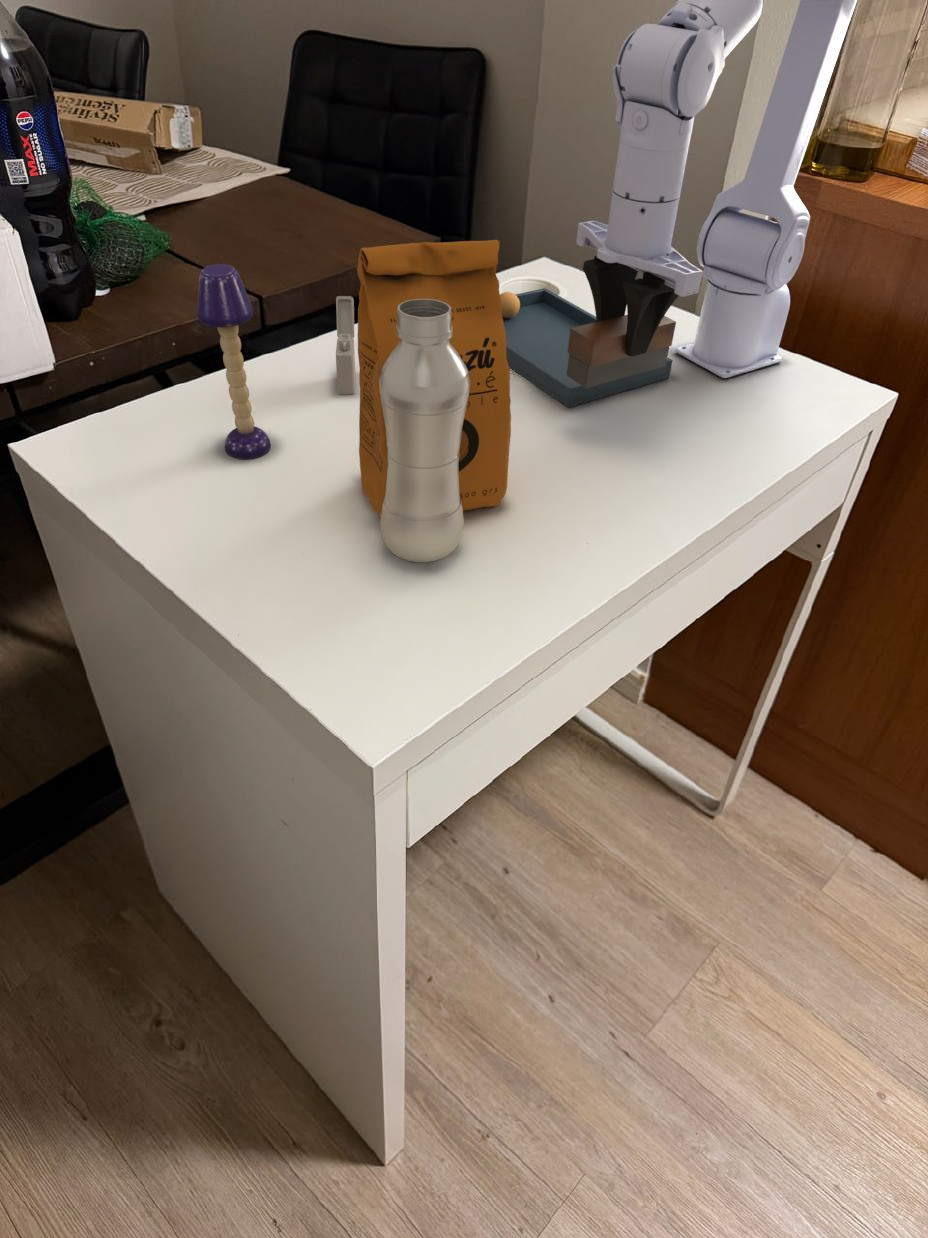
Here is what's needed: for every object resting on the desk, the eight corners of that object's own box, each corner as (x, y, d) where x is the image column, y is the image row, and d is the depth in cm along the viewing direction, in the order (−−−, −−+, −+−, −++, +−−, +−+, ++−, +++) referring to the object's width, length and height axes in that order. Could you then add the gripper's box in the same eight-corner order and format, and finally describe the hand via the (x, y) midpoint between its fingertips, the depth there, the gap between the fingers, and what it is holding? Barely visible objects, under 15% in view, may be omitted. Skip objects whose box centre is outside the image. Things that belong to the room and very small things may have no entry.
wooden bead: (528, 305, 109) (518, 320, 111) (516, 284, 109) (506, 299, 112) (508, 310, 107) (498, 325, 110) (496, 289, 108) (486, 304, 110)
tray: (543, 304, 116) (545, 287, 114) (669, 377, 101) (673, 359, 100) (448, 325, 109) (448, 308, 108) (567, 407, 95) (570, 388, 94)
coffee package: (514, 520, 79) (538, 262, 65) (370, 534, 77) (361, 269, 62) (487, 461, 86) (503, 216, 72) (355, 471, 84) (344, 221, 70)
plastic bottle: (379, 528, 77) (372, 291, 65) (459, 526, 78) (467, 290, 65) (382, 574, 72) (375, 326, 60) (467, 571, 73) (479, 325, 60)
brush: (643, 353, 92) (651, 308, 89) (667, 367, 90) (676, 321, 87) (564, 374, 88) (570, 327, 85) (587, 389, 85) (593, 342, 82)
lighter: (354, 394, 95) (351, 319, 90) (337, 394, 95) (333, 319, 90) (356, 364, 101) (353, 291, 95) (340, 363, 100) (336, 291, 95)
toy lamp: (226, 464, 84) (199, 282, 73) (212, 440, 87) (184, 263, 76) (277, 453, 86) (257, 274, 75) (261, 430, 89) (240, 255, 78)
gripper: (557, 175, 81) (542, 324, 90) (668, 224, 72) (640, 384, 81) (618, 166, 84) (598, 311, 93) (733, 212, 75) (698, 368, 84)
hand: (621, 344), depth 87 cm, fingers closed on brush, 3 cm apart
